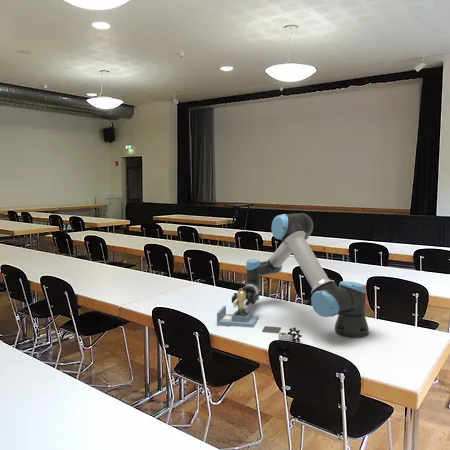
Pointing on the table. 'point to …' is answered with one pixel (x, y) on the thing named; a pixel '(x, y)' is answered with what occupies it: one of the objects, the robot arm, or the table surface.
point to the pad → (271, 329)
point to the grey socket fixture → (235, 319)
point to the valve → (290, 335)
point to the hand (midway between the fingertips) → (239, 305)
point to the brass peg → (241, 302)
